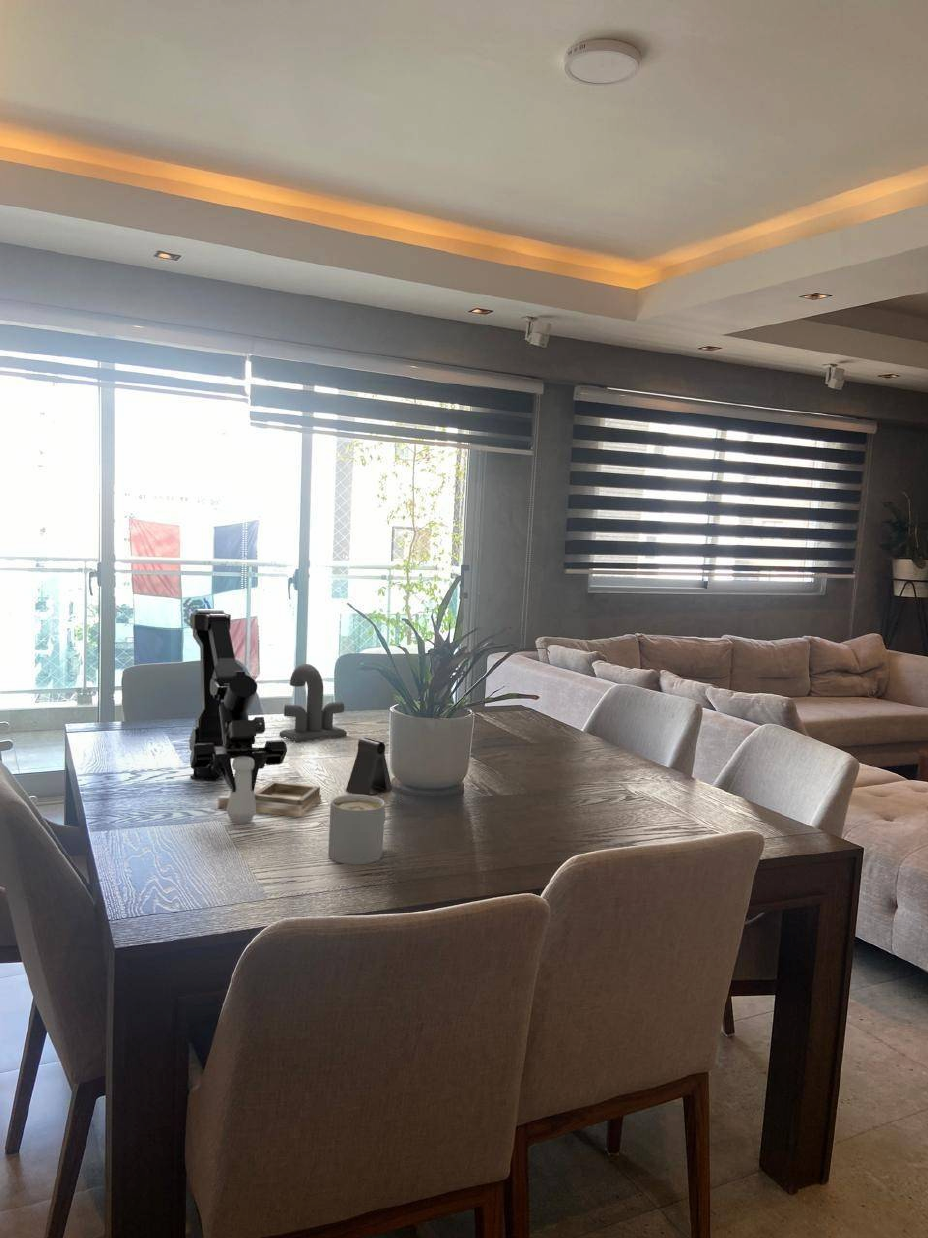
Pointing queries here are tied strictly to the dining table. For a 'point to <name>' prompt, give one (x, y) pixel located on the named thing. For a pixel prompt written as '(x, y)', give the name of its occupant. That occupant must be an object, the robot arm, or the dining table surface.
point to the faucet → (312, 709)
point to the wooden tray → (282, 798)
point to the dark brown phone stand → (369, 770)
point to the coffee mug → (356, 829)
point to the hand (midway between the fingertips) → (243, 791)
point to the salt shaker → (242, 792)
